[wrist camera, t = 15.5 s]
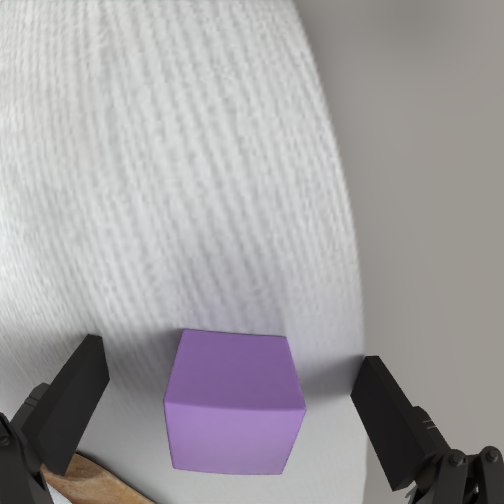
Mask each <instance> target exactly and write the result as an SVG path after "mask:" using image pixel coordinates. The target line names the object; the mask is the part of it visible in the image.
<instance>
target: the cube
mask: <svg viewBox="0 0 504 504" xmlns="http://www.w3.org/2000/svg"><path fill="white" fill-rule="evenodd" d="M163 404H164V413H165V420H166V428H167V435H168V441H169V448H170V454H171V460H172V465H173V468H174V469H180V470H188V471H196V472H206V473H219V474H238V475H278V474H282V472H283V470H284V467H285V465H286V462H287V460H288V458H289V455H290V453H291V450H292V447H293V445H294V442H295V440H296V437H297V434H298V432H299V429H300V426H301V423H302V421H303V418H304V415H305V412H306V406H305V402H304V399H303V395H302V391H301V388H300V384H299V380H298V377H297V373H296V370H295V366H294V362H293V359H292V355H291V352H290V348H289V344H288V341H287V338H286V337H278V336H260V335H245V334H232V333H220V332H209V331H199V330H190V329H184V330H183V333H182V336H181V340H180V343H179V346H178V350H177V353H176V357H175V360H174V364H173V367H172V370H171V374H170V377H169V381H168V385H167V388H166V392H165V395H164V399H163Z"/></svg>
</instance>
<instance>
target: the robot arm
mask: <svg viewBox="0 0 504 504" xmlns="http://www.w3.org/2000/svg"><path fill="white" fill-rule="evenodd" d="M109 380H110V378H109V373H108V368H107V364H106V358H105V353H104V348H103V342H102V337H100V336H95V335H90V334H88V335H87V336H86V338H85V339H84V340H83V341H82V343H81V344H80V345H79V347H78V348H77V349H76V350H75V352H74V353H73V354H72V356H71V357H70V358H69V360H68V361H67V362H66V364H65V365H64V366H63V368H62V369H61V370H60V372H59V373H58V375H57V376H56V377H55V379H54V380H53V382H52V383H51V384H50V385H49V384H46V383H41V384H40V385H38V386H37V387H35V388H34V389H33V391H32V392H31V393H30V395H29V397H27V399H26V400H25V401H24V404H22V406H21V407H20V409H19V410H18V411H17V413H16V414H15V416H14V417H13V419H12V420H11V422H10V423H9V421H8V419H7V417H6V416H5V415H4V414H3V413H1V412H0V504H54V502H53V500H52V497H51V495H50V492H49V489H48V487H47V484H46V481H45V478H44V475H43V472H42V471H41V469H40V468H41V466H42V464H44V465H45V466H46V468H47V469H48V470H49V471H51V472H54V473H56V474H58V475H61V476H63V477H64V476H65V473H66V471H67V468H68V466H69V464H70V462H71V459H72V457H73V455H74V452H75V450H76V448H77V446H78V444H79V441H80V439H81V437H82V435H83V433H84V431H85V429H86V426H87V424H88V422H89V420H90V418H91V416H92V414H93V412H94V410H95V408H96V406H97V404H98V402H99V400H100V398H101V396H102V394H103V392H104V390H105V388H106V386H107V384H108V382H109ZM350 396H351V399H352V401H353V403H354V405H355V407H356V409H357V412H358V414H359V416H360V418H361V420H362V423H363V425H364V427H365V429H366V432H367V434H368V436H369V438H370V441H371V443H372V445H373V447H374V450H375V452H376V454H377V456H378V459H379V461H380V463H381V466H382V468H383V470H384V472H385V475H386V477H387V479H388V482H389V484H390V486H391V489H392V491H396V490H400V489H403V488H406V487H408V486H409V485H410V484H411V483H412V482H413V481H414V480H415V482H416V484H417V485H416V486H415V487H414V488H413V489H412V490H411V491H410V492H409V493H408V494H407V495H406V496H405V498H407V497H409V496H410V495H411V497H410V500H409V503H408V504H504V462H503V458H502V455H501V452H500V451H499V450H498V449H497V448H495V447H493V446H487V447H485V448H484V449H482V451H481V452H480V453H479V454H475V455H465V454H464V453H463V452H462V451H460V450H457V449H451V448H450V447H449V445H448V444H447V442H446V441H445V439H444V438H443V436H442V435H441V433H440V432H439V430H438V429H437V427H435V424H434V423H433V421H431V418H430V417H429V415H428V414H427V412H426V411H424V410H423V409H422V408H421V407H419V406H415V407H413V406H412V405H411V403H410V402H409V400H408V399H407V397H406V396H405V394H404V393H403V391H402V390H401V388H400V387H399V385H398V384H397V382H396V381H395V379H394V378H393V376H392V375H391V373H390V372H389V370H388V369H387V368H386V366H385V365H384V363H383V362H382V360H381V359H380V358H379V356H365V359H364V362H363V365H362V367H361V370H360V373H359V375H358V378H357V380H356V383H355V385H354V388H353V390H352V393H351V395H350ZM477 487H478V492H477V491H476V488H477Z"/></svg>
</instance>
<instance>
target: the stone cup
mask: <svg viewBox="0 0 504 504" xmlns="http://www.w3.org/2000/svg"><path fill="white" fill-rule="evenodd" d="M40 469H41V471H42V472H43V475H44V478H45V481H46V482H47V483H48V484H49V485H51V486H52V487H53V488H54V489H56V490H57V491H58V492H59V493H61V494H62V495H63V496H64V497H66V498H67V499H68V500H69V501H70V502H71V503H72V504H155V503H154V502H152V501H151V500H149V499H148V498H146V497H144V496H143V495H141V494H140V493H138V492H137V491H135V490H134V489H132V488H131V487H129V486H128V485H126V484H125V483H123V482H122V481H121V480H119V479H118V478H117V477H115V476H114V475H113V474H111V473H110V472H108V471H107V470H105V469H104V468H102V467H101V466H99V465H97V464H95V463H93V462H92V461H90V460H88V459H86V458H84V457H82V456H80V455H78V454H76V453H74V455H73V457H72V459H71V462H70V464H69V466H68V468H67V471H66V473H65V476H64V477H63V476H61V475H58V474H56V473H54V472H51V471H49V470H48V469H47V468H46V466H45V465H44V464H42V466H41V468H40Z"/></svg>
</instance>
